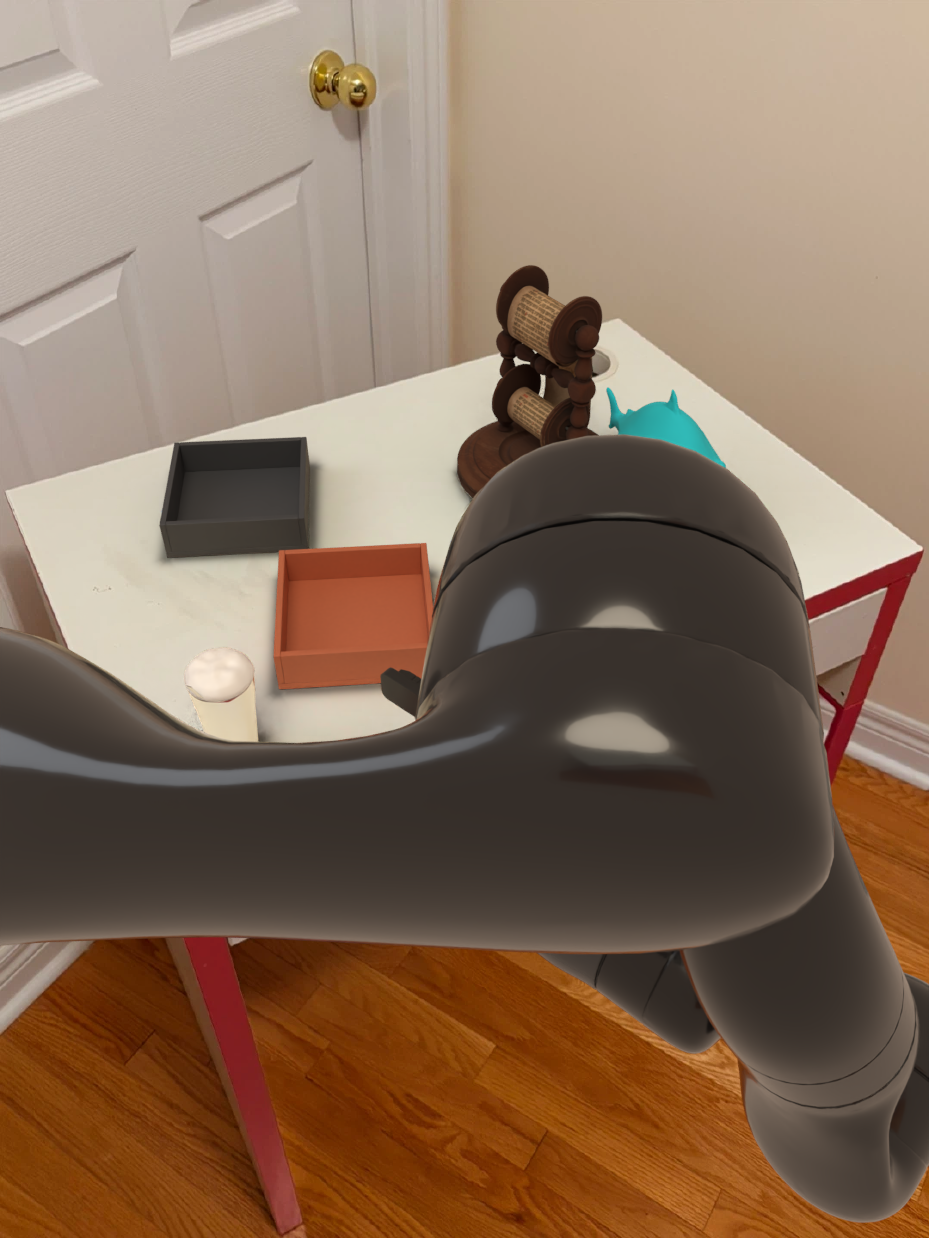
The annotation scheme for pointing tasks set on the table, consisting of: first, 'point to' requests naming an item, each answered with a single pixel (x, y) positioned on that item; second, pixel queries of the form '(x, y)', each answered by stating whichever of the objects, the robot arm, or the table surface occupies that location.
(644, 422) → the toy shark
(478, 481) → the wooden thread spool stand
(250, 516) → the grey bin
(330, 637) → the terracotta bin
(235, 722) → the milkshake
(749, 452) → the table surface
